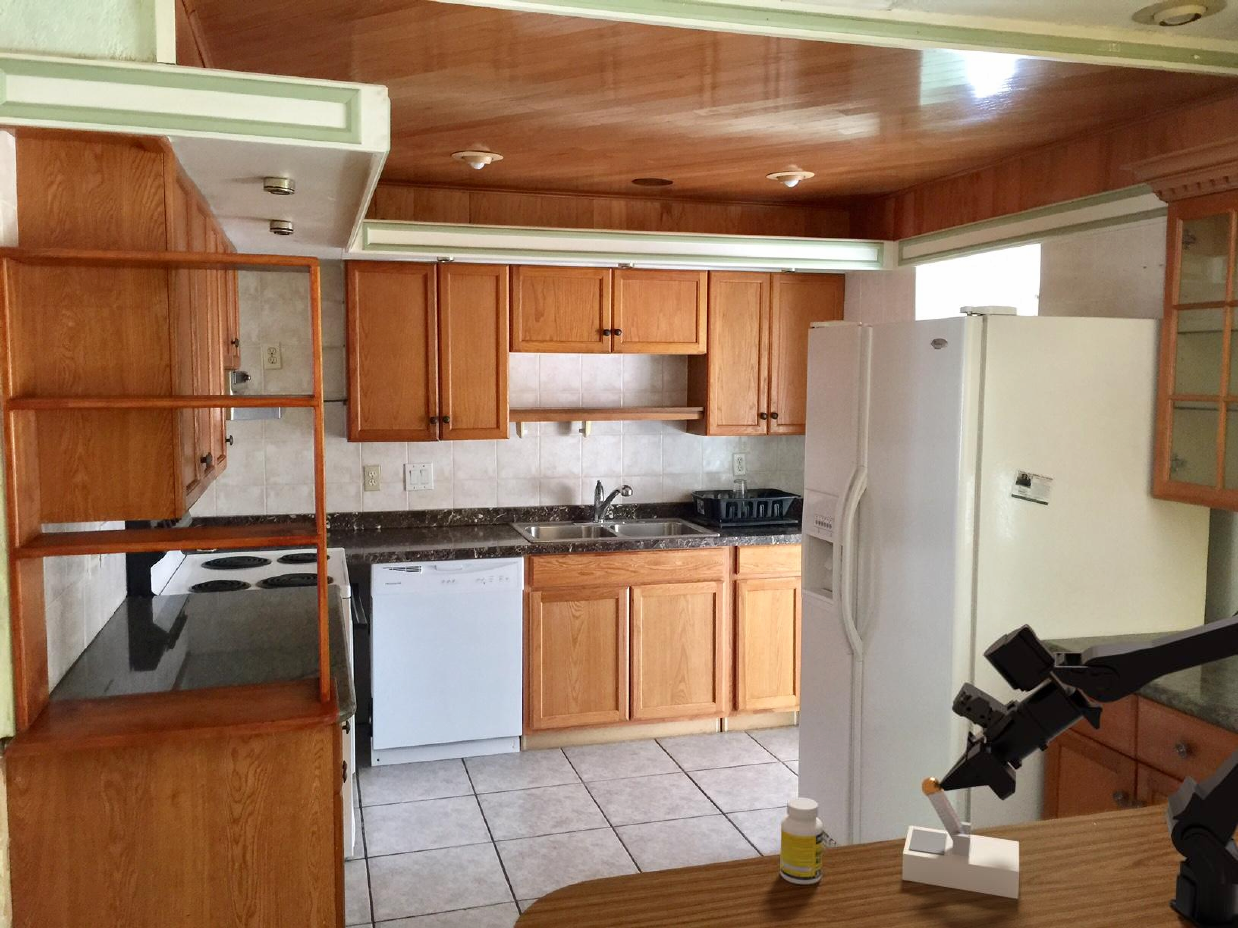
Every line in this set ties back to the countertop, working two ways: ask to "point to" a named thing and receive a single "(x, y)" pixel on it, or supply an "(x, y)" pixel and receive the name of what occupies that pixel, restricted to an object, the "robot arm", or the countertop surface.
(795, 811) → the supplement bottle
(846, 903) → the countertop surface
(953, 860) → the switch box
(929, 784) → the switch lever
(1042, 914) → the countertop surface
